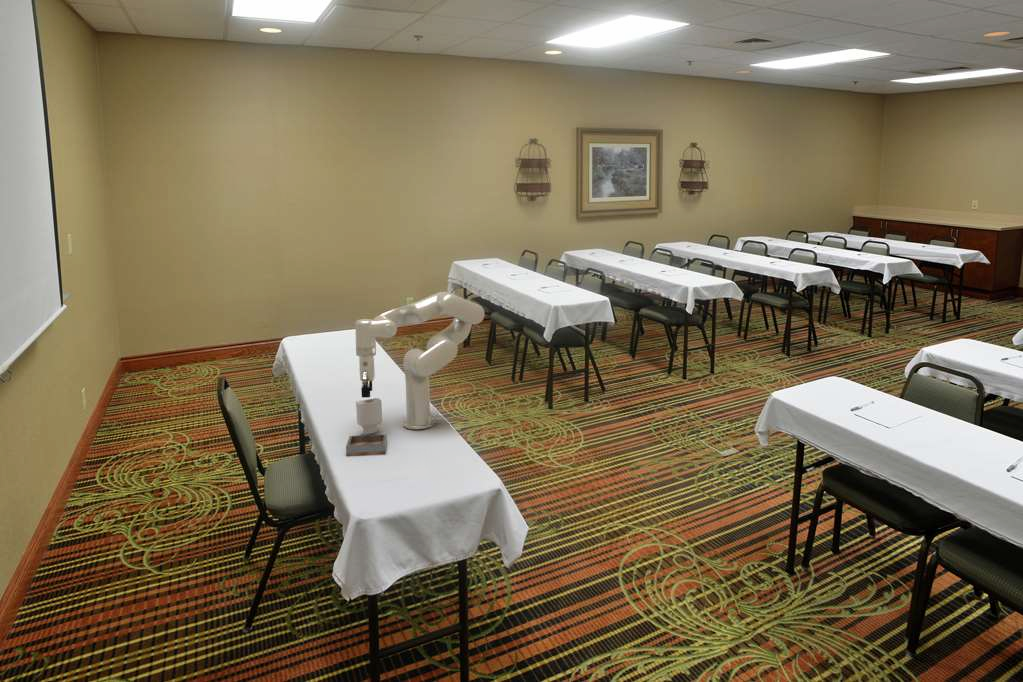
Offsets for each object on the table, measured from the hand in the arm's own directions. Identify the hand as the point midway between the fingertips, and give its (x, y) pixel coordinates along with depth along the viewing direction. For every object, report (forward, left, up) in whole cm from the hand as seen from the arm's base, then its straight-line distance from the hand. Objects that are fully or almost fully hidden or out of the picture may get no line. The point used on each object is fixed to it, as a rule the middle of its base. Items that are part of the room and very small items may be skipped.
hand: (367, 393), depth 258 cm
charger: (-1, 0, -18) cm, 18 cm away
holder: (0, +14, -18) cm, 23 cm away
